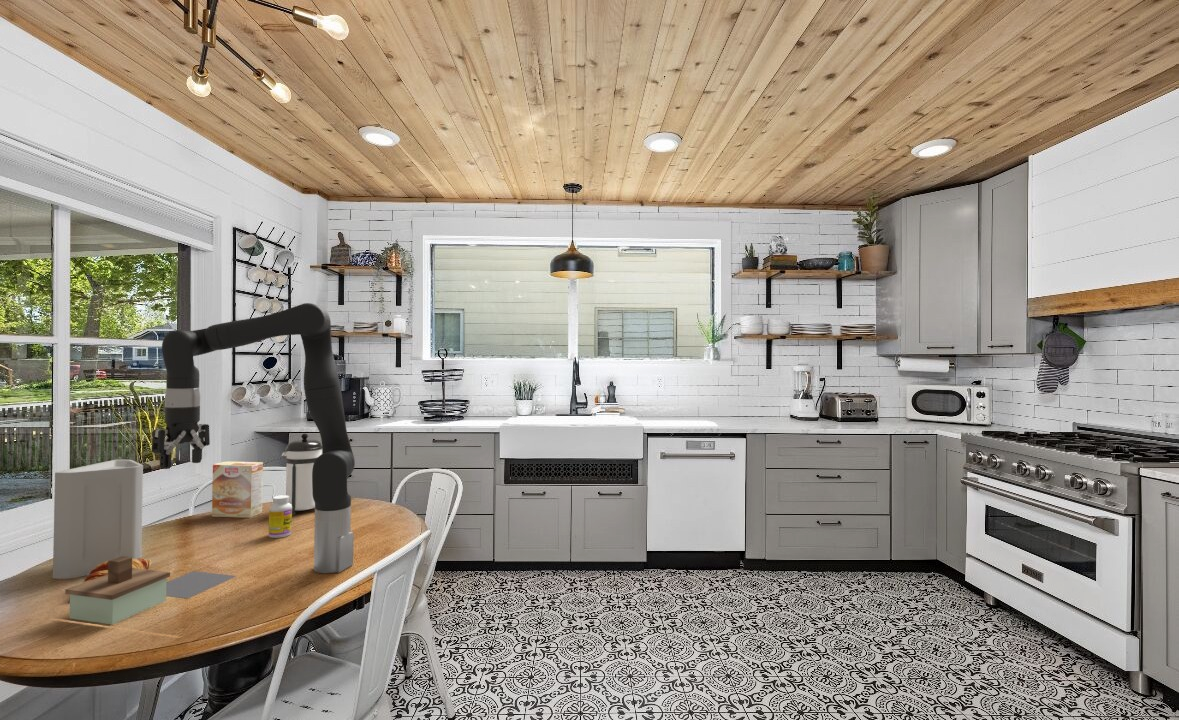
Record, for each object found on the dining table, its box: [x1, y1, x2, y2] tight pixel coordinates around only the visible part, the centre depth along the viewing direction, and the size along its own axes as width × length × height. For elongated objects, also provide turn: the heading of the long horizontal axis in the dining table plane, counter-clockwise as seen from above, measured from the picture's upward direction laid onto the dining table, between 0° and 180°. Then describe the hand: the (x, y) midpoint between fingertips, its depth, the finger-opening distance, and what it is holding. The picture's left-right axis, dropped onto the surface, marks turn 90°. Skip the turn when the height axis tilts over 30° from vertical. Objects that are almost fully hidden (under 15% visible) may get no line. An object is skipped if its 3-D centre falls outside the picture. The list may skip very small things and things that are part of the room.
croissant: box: [82, 557, 152, 583], centre depth 138 cm, size 21×10×8 cm, turn 2°
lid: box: [64, 556, 171, 600], centre depth 123 cm, size 13×13×6 cm
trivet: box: [166, 570, 237, 600], centre depth 137 cm, size 14×14×1 cm
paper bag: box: [52, 459, 144, 580], centre depth 150 cm, size 19×15×28 cm
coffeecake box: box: [211, 460, 264, 519], centre depth 199 cm, size 15×7×20 cm, turn 88°
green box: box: [69, 578, 167, 627], centre depth 123 cm, size 12×12×6 cm
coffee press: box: [281, 433, 323, 517], centre depth 207 cm, size 17×16×30 cm
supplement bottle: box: [268, 494, 293, 539], centre depth 177 cm, size 7×7×13 cm
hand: (181, 465), depth 142 cm, fingers open, 8 cm apart
